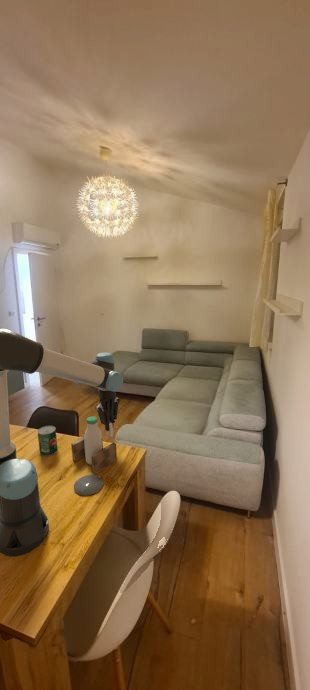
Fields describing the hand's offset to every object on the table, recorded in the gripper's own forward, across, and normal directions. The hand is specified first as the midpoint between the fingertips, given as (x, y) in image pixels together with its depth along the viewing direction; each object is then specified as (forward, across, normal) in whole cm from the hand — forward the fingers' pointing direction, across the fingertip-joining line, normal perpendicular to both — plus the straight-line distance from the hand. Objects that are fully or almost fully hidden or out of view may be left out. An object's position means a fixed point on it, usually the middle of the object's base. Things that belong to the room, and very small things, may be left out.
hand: (109, 435), depth 136 cm
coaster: (+7, -22, -11) cm, 25 cm away
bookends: (+7, -10, 0) cm, 12 cm away
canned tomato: (+8, -18, +22) cm, 30 cm away
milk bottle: (+8, -10, 0) cm, 12 cm away
